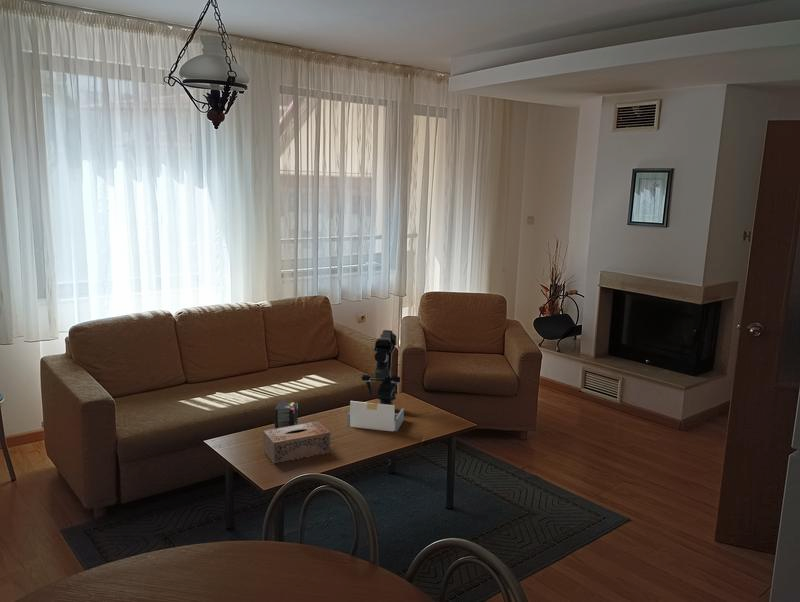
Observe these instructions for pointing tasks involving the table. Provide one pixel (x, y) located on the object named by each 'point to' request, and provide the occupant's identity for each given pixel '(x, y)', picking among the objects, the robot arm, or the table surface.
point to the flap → (372, 416)
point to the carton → (397, 419)
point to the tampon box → (286, 414)
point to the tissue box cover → (296, 441)
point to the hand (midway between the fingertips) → (380, 397)
